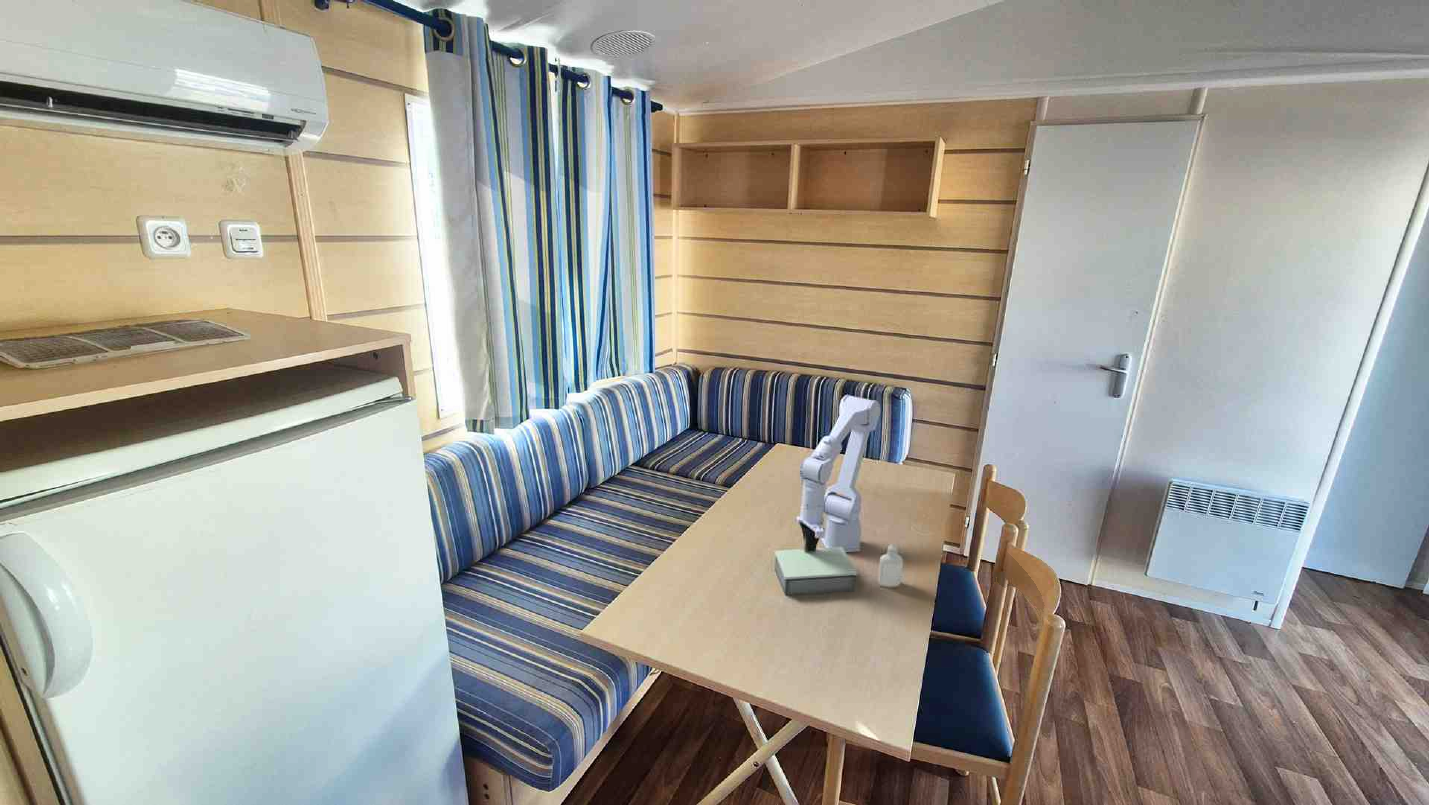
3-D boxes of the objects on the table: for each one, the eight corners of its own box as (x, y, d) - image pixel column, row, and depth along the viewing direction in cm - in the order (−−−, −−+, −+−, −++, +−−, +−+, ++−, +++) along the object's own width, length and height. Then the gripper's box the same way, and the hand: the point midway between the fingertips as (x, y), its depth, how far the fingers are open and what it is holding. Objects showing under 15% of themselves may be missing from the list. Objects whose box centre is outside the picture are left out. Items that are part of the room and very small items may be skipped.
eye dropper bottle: (898, 591, 146) (903, 549, 143) (875, 585, 148) (880, 544, 145) (901, 582, 150) (906, 541, 146) (879, 576, 152) (883, 536, 149)
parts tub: (839, 566, 156) (840, 553, 155) (854, 590, 146) (855, 577, 145) (775, 570, 154) (775, 557, 153) (785, 595, 144) (785, 581, 142)
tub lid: (841, 550, 155) (843, 534, 154) (856, 576, 145) (859, 559, 143) (774, 554, 153) (775, 537, 151) (785, 581, 142) (786, 563, 141)
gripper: (791, 490, 155) (788, 535, 159) (805, 516, 141) (802, 564, 145) (816, 489, 156) (813, 534, 160) (833, 514, 142) (829, 562, 146)
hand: (809, 548), depth 153 cm, fingers closed on tub lid
